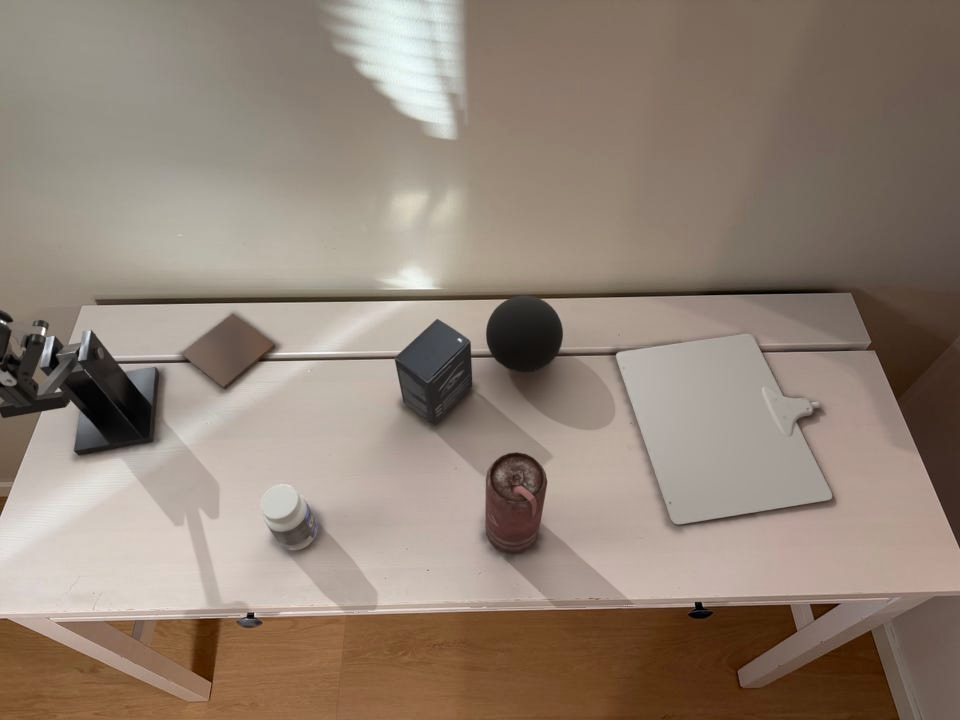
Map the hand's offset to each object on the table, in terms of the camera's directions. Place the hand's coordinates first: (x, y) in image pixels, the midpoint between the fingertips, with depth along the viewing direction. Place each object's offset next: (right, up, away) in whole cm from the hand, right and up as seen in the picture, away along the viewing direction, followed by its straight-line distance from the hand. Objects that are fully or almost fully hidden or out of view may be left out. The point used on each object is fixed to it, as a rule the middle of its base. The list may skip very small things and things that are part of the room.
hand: (28, 398), depth 65 cm
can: (+48, -16, +11) cm, 52 cm away
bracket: (-2, -3, +21) cm, 21 cm away
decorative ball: (+50, +4, +26) cm, 57 cm away
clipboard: (+76, -4, +20) cm, 79 cm away
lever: (-1, +1, +7) cm, 7 cm away
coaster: (+10, +5, +26) cm, 28 cm away
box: (+39, -1, +22) cm, 45 cm away
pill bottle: (+23, -16, +11) cm, 31 cm away
